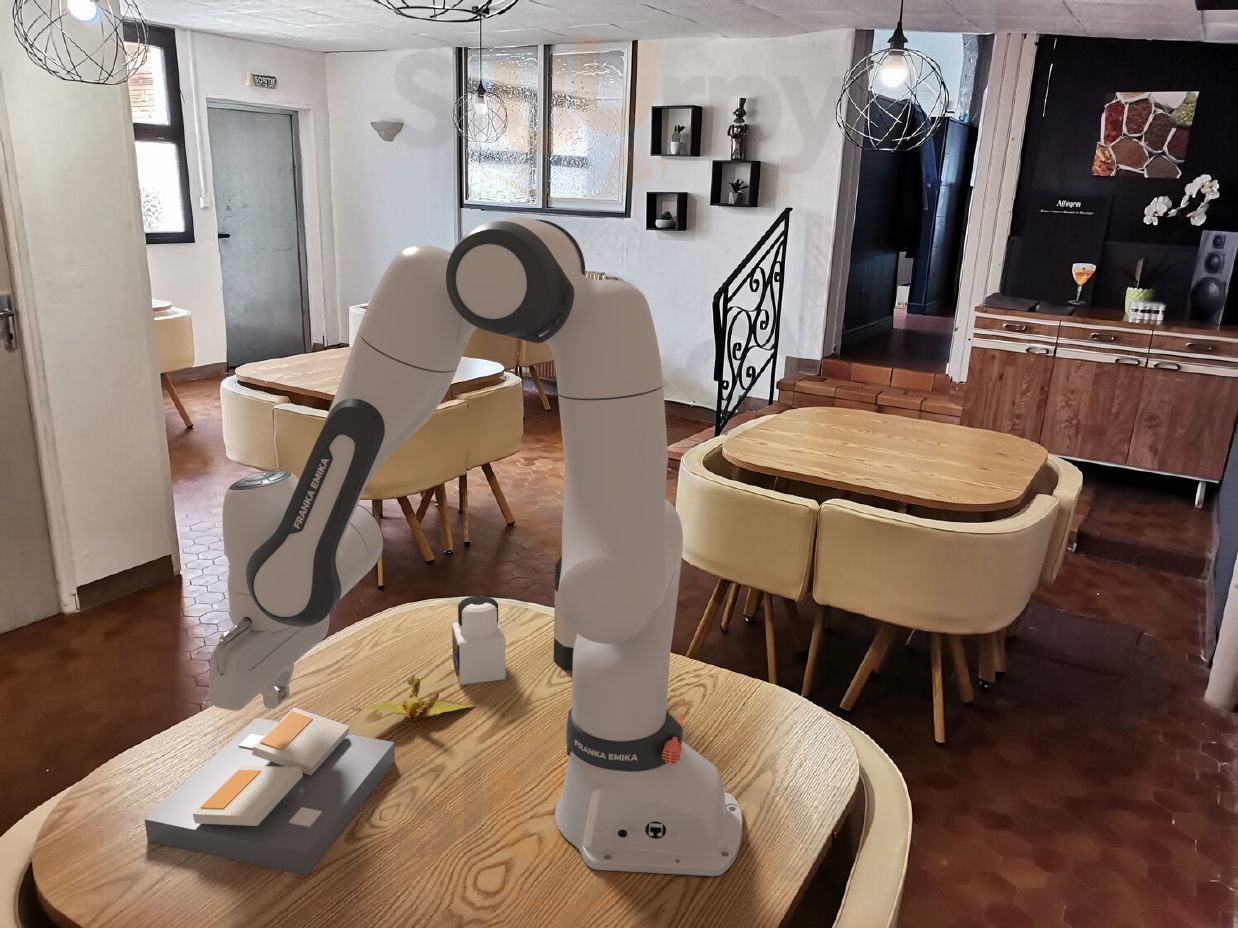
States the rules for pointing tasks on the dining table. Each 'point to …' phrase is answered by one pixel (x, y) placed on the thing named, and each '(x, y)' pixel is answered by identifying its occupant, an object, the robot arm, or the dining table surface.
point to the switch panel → (294, 823)
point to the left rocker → (248, 795)
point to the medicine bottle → (478, 642)
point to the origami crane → (417, 704)
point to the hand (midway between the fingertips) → (276, 702)
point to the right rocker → (301, 740)
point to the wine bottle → (562, 631)
